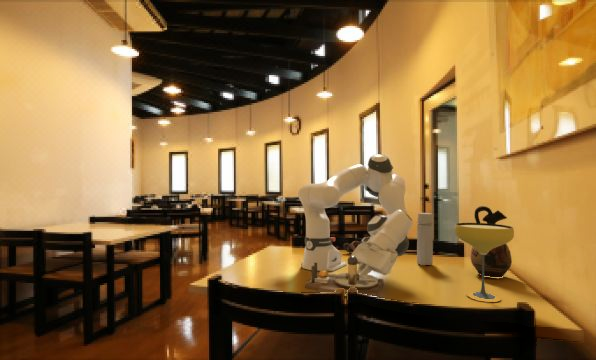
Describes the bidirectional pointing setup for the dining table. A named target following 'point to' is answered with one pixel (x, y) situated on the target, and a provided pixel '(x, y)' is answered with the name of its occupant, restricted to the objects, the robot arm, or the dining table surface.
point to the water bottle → (425, 239)
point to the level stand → (330, 285)
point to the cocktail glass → (484, 242)
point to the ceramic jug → (497, 257)
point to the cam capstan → (352, 277)
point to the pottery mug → (351, 246)
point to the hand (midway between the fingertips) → (358, 276)
